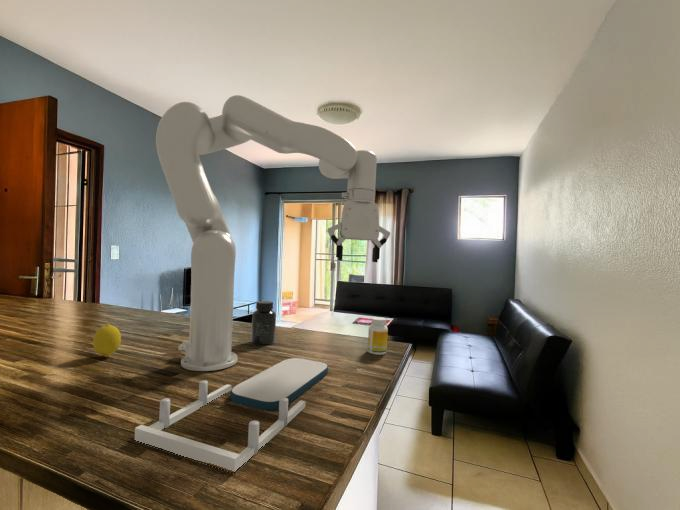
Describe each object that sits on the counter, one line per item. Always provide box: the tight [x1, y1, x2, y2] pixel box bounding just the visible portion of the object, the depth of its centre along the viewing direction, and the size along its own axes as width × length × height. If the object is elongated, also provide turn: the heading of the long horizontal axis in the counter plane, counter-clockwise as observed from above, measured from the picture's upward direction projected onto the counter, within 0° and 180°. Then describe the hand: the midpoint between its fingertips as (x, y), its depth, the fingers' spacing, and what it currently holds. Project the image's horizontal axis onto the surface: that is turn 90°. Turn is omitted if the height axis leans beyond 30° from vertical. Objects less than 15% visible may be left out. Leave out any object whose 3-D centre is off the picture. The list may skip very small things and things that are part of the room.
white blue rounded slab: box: [230, 357, 329, 412], centre depth 69 cm, size 24×12×2 cm, turn 158°
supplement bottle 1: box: [250, 300, 277, 346], centre depth 99 cm, size 7×7×12 cm
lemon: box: [92, 323, 122, 358], centre depth 80 cm, size 6×6×8 cm
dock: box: [134, 379, 307, 472], centre depth 53 cm, size 17×20×4 cm
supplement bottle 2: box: [367, 316, 389, 356], centre depth 94 cm, size 5×5×10 cm
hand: (357, 261), depth 90 cm, fingers open, 9 cm apart
